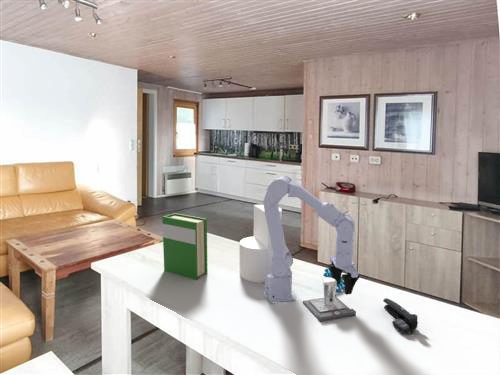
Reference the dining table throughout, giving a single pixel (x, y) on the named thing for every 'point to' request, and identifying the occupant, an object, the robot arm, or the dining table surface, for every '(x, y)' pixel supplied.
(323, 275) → the gear
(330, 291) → the milkshake
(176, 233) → the hardback book
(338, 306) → the scale pan
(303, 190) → the robot arm
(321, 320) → the scale base
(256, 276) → the white tall piece
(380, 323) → the dining table surface
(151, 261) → the dining table surface
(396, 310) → the can opener
